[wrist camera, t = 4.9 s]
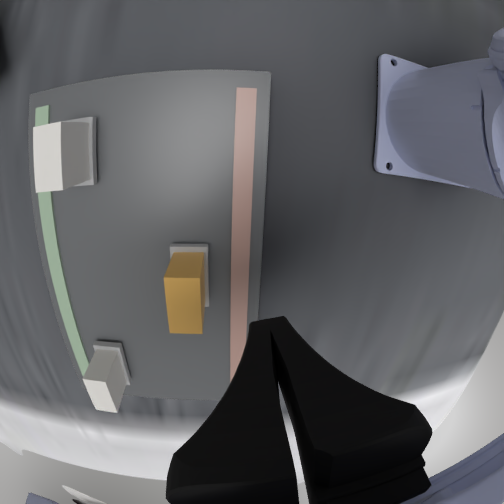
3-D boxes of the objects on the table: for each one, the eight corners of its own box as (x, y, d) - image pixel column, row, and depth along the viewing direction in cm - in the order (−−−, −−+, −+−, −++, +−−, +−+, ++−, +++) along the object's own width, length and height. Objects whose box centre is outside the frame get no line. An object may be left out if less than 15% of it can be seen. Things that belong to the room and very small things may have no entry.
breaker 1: (96, 116, 13) (64, 113, 10) (97, 183, 14) (67, 196, 11) (65, 121, 13) (30, 121, 9) (66, 185, 14) (33, 199, 11)
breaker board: (265, 79, 15) (271, 71, 13) (250, 382, 23) (252, 401, 21) (46, 96, 14) (28, 94, 12) (89, 373, 22) (82, 390, 20)
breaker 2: (121, 343, 18) (107, 379, 15) (131, 380, 19) (121, 415, 16) (95, 340, 18) (78, 374, 14) (107, 377, 19) (94, 411, 16)
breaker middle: (208, 243, 16) (204, 272, 13) (209, 302, 17) (207, 338, 14) (171, 243, 16) (158, 271, 13) (175, 301, 17) (166, 337, 14)
